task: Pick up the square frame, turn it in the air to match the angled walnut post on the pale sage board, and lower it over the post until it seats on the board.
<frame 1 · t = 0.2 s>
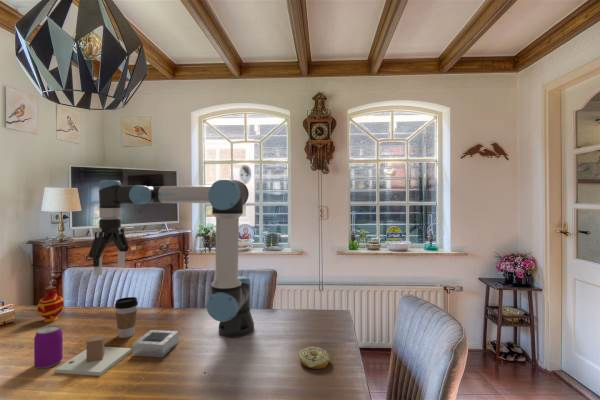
hand: (110, 270, 128), 27 cm above the table, fingers open, 13 cm apart
potion bottle: (50, 320, 147), on the table
coffee cup: (126, 335, 131), on the table
beverage can: (48, 364, 109), on the table
square frame: (156, 348, 120), on the table
post board: (95, 361, 110), on the table
decorated donut: (314, 363, 111), on the table
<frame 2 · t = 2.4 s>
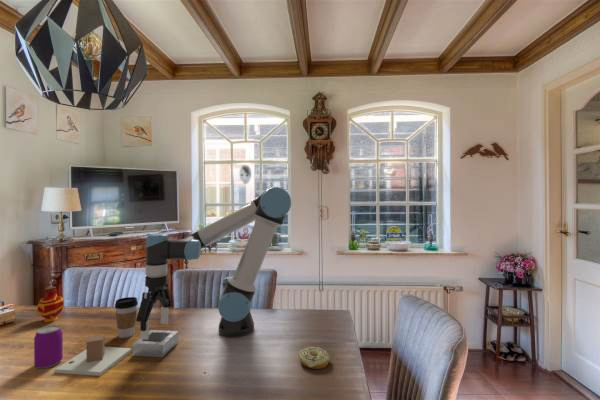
hand: (155, 330, 119), 7 cm above the table, fingers open, 13 cm apart
nothing on the table moved.
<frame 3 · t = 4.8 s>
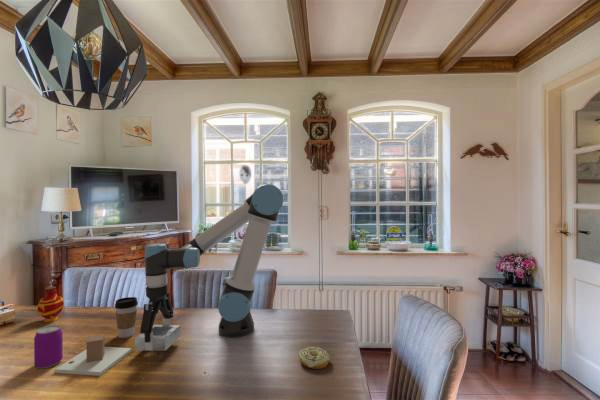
hand: (158, 342, 120), 2 cm above the table, fingers closed on square frame, 11 cm apart
square frame: (158, 342, 120), point 2 cm above the table, touching gripper
everything else where it was.
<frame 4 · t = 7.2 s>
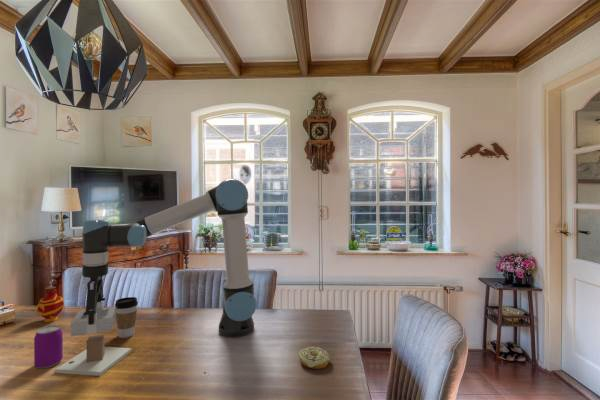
hand: (94, 326, 110), 12 cm above the table, fingers closed on square frame, 11 cm apart
square frame: (95, 326, 110), point 12 cm above the table, touching gripper
everything else where it was.
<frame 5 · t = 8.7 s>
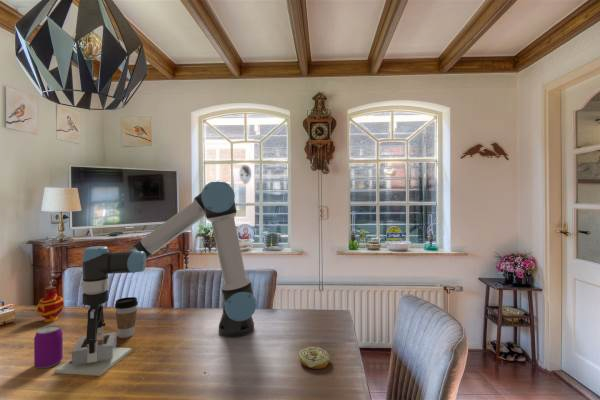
hand: (95, 353, 110), 3 cm above the table, fingers closed on square frame, 11 cm apart
square frame: (95, 353, 110), point 3 cm above the table, touching gripper
everything else where it was.
when the fingers open (3 cm above the table, at t = 9.7 s): square frame drops 1 cm, resting on post board.
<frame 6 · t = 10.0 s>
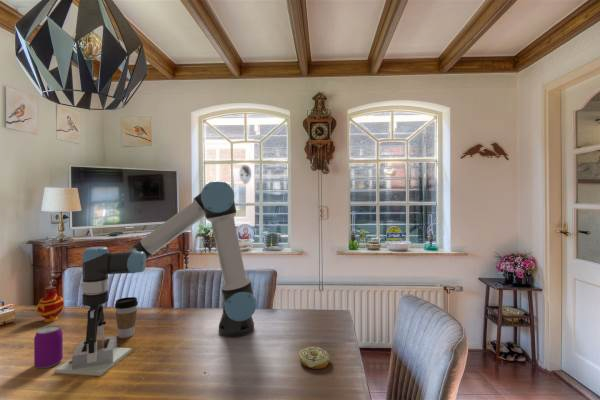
hand: (95, 352, 110), 3 cm above the table, fingers open, 13 cm apart
square frame: (96, 358, 110), point 1 cm above the table, touching post board
everything else where it was.
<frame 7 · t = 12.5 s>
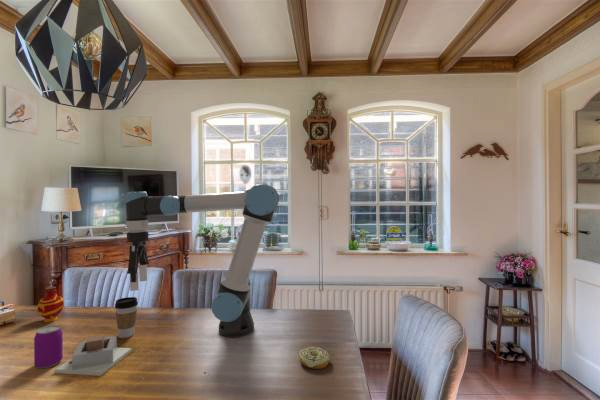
hand: (139, 285, 123), 23 cm above the table, fingers open, 13 cm apart
nothing on the table moved.
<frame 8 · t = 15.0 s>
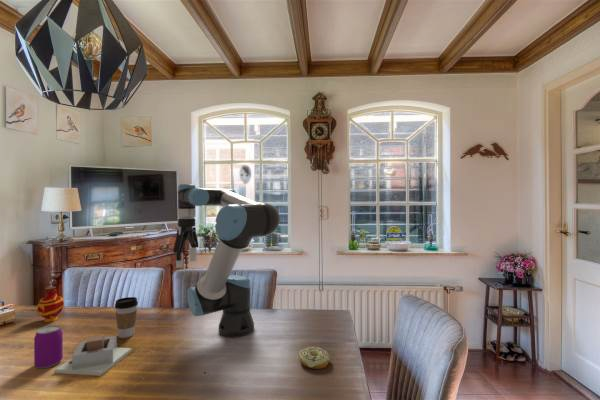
hand: (186, 264, 144), 27 cm above the table, fingers open, 13 cm apart
nothing on the table moved.
at the end: square frame 0.1 cm off-centre on the post board, point 1.2 cm above the post board's base; the gripper is holding nothing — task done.
